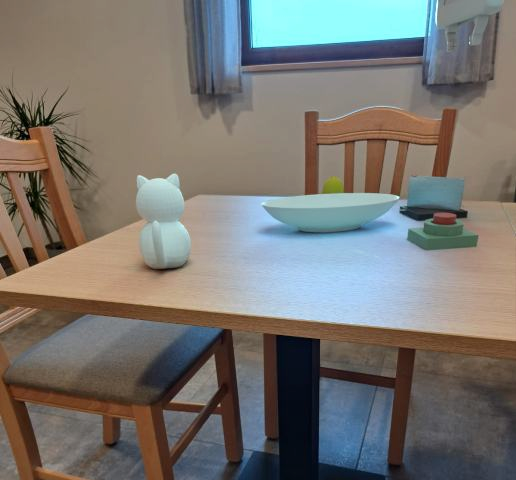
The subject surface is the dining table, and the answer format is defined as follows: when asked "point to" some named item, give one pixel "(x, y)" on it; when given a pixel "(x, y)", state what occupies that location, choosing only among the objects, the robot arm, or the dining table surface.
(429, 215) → the plate
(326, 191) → the lemon
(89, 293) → the dining table surface
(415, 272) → the dining table surface
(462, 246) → the green base
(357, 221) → the bowl
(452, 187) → the blue card stand
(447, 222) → the button
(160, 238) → the cat figurine
